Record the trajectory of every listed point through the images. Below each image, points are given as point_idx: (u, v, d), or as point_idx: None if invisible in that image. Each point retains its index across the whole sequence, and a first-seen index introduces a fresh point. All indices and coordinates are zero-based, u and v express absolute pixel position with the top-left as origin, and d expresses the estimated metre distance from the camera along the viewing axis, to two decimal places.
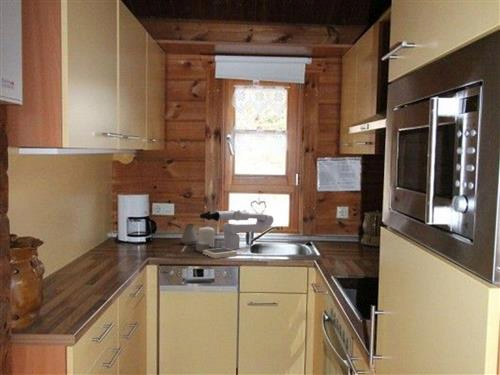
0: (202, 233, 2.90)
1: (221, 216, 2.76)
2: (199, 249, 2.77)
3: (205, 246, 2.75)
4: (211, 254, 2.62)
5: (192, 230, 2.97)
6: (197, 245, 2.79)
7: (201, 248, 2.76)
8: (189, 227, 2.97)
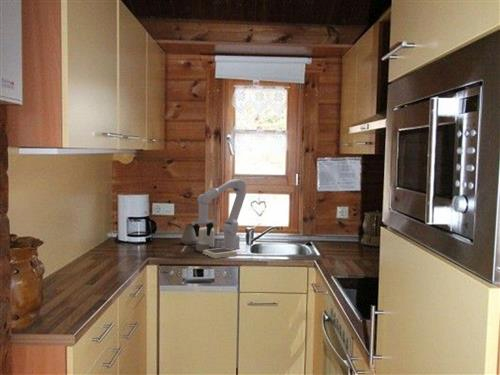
0: (202, 233, 2.90)
1: (192, 223, 2.74)
2: (199, 249, 2.78)
3: (205, 246, 2.75)
4: (211, 254, 2.62)
5: (192, 230, 2.97)
6: (197, 245, 2.79)
7: (201, 248, 2.76)
8: (189, 227, 2.97)
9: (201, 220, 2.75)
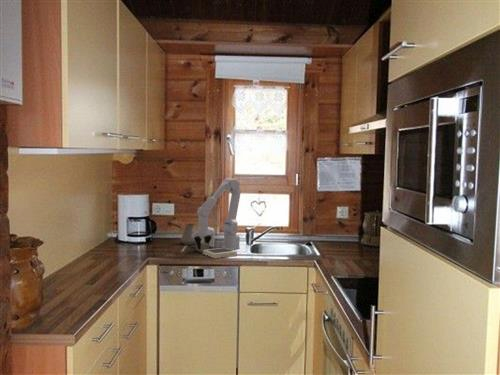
0: None
1: (192, 236, 2.74)
2: (199, 249, 2.77)
3: (205, 246, 2.75)
4: (211, 254, 2.62)
5: (192, 230, 2.97)
6: None
7: (201, 247, 2.76)
8: (189, 227, 2.97)
9: (201, 233, 2.76)
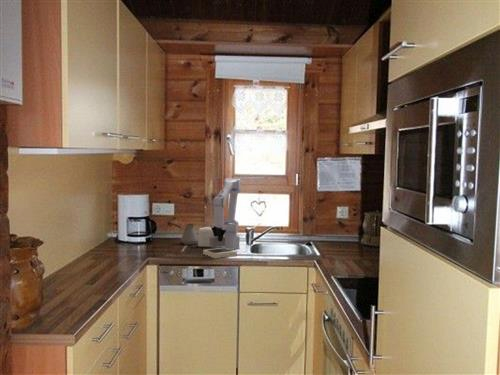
0: (202, 233, 2.90)
1: (224, 228, 2.62)
2: (219, 243, 2.67)
3: None
4: (211, 254, 2.62)
5: (192, 230, 2.97)
6: (215, 240, 2.66)
7: (222, 241, 2.68)
8: (189, 227, 2.97)
9: (223, 223, 2.68)
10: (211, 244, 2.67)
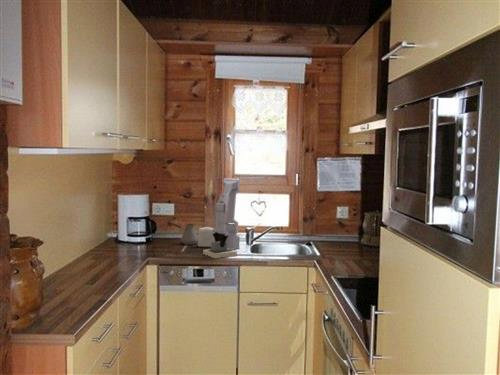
0: (202, 233, 2.90)
1: (227, 234, 2.62)
2: (221, 248, 2.66)
3: None
4: (211, 254, 2.62)
5: (192, 230, 2.97)
6: (217, 245, 2.65)
7: (224, 246, 2.67)
8: (189, 227, 2.97)
9: (225, 229, 2.67)
10: (213, 249, 2.65)
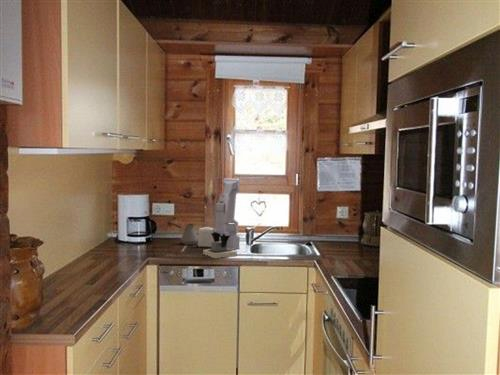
0: (202, 233, 2.90)
1: (227, 234, 2.62)
2: (221, 248, 2.66)
3: None
4: (211, 254, 2.62)
5: (192, 230, 2.97)
6: (217, 245, 2.65)
7: None
8: (189, 227, 2.97)
9: (225, 229, 2.67)
10: (213, 249, 2.65)
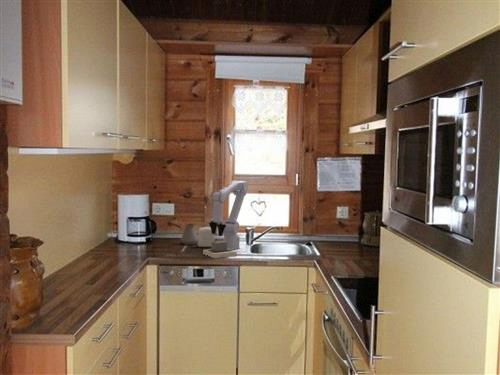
0: (202, 233, 2.90)
1: (223, 223, 2.70)
2: (221, 248, 2.66)
3: None
4: (211, 254, 2.62)
5: (192, 230, 2.97)
6: (217, 245, 2.65)
7: (224, 246, 2.67)
8: (189, 227, 2.97)
9: None
10: (213, 249, 2.65)
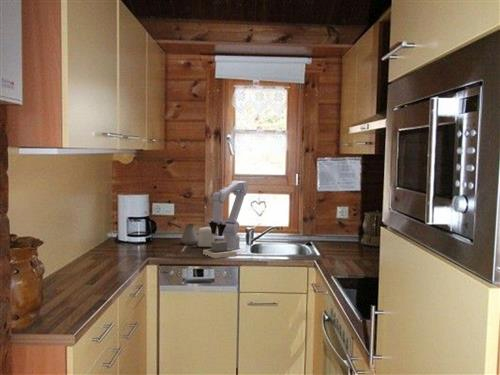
0: (202, 233, 2.90)
1: (223, 223, 2.70)
2: (221, 248, 2.66)
3: None
4: (211, 254, 2.62)
5: (192, 230, 2.97)
6: (217, 245, 2.65)
7: (224, 246, 2.67)
8: (189, 227, 2.97)
9: None
10: (213, 249, 2.65)
